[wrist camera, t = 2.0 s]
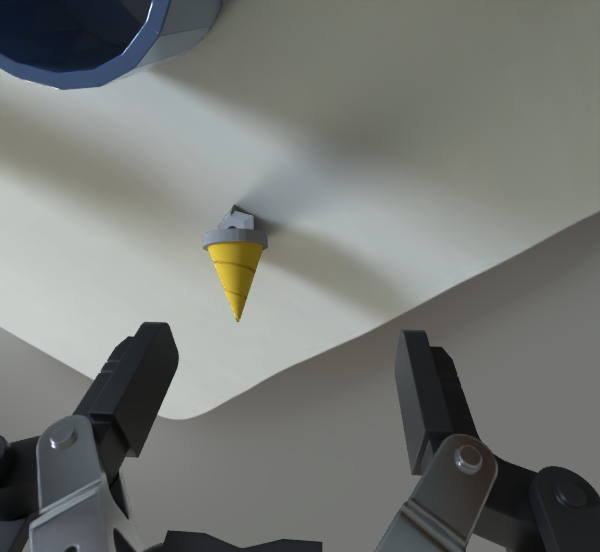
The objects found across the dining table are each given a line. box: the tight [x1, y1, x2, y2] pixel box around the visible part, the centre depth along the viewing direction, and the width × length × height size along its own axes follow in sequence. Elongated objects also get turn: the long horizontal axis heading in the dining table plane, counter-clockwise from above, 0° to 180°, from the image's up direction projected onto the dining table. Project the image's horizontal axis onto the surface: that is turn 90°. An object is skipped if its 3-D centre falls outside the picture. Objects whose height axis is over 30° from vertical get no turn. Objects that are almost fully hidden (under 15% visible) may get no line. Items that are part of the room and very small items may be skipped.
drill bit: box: [203, 204, 268, 322], centre depth 30 cm, size 5×5×10 cm
